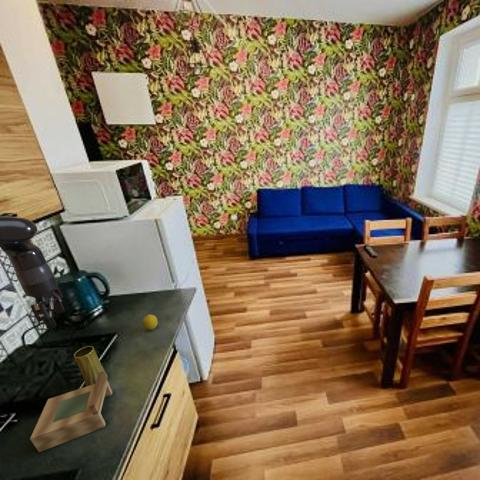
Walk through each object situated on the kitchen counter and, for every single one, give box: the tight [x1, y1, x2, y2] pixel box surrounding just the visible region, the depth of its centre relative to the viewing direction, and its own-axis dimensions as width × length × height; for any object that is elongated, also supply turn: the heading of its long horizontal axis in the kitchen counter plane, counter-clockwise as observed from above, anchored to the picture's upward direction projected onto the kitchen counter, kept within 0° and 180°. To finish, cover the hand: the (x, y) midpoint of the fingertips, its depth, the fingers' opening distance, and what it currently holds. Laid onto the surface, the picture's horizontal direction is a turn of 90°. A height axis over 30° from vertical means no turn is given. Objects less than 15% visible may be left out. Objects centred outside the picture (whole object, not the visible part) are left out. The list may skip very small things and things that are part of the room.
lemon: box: [142, 314, 158, 331], centre depth 118 cm, size 6×6×8 cm
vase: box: [73, 345, 109, 387], centre depth 92 cm, size 6×6×14 cm
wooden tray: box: [29, 371, 113, 453], centre depth 81 cm, size 15×13×10 cm
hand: (56, 319), depth 89 cm, fingers open, 8 cm apart
